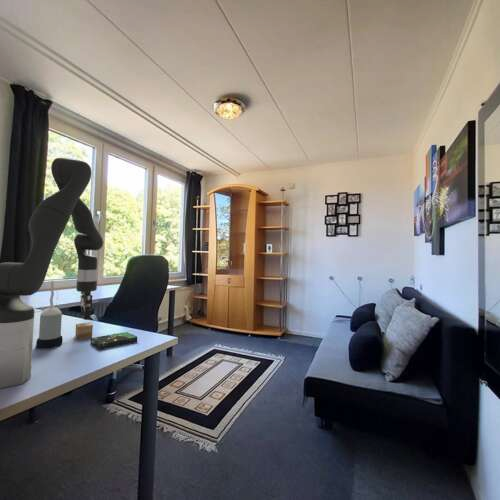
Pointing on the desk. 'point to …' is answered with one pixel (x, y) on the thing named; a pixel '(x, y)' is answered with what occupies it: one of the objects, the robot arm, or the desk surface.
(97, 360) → the desk surface
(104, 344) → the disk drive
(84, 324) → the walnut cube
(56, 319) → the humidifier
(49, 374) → the desk surface
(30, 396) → the desk surface
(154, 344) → the desk surface
